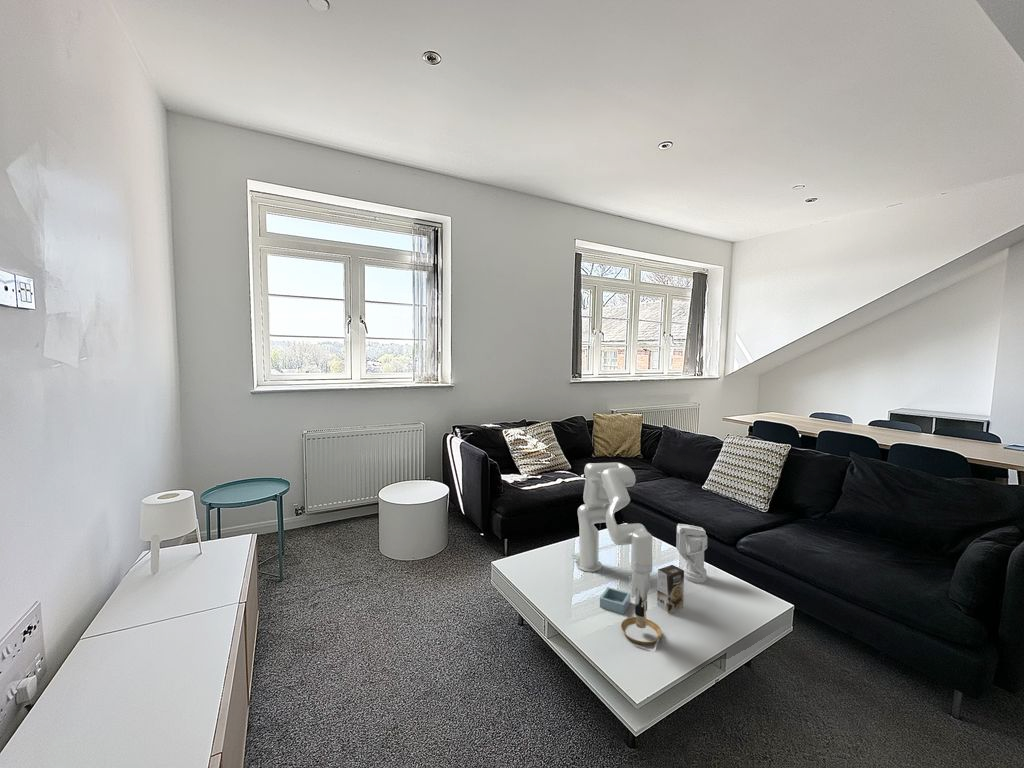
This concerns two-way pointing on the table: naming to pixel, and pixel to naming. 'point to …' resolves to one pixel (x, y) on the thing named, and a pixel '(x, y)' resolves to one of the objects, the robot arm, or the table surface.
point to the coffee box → (670, 588)
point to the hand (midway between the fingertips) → (641, 612)
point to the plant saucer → (648, 623)
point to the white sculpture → (692, 551)
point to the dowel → (641, 620)
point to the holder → (615, 600)
